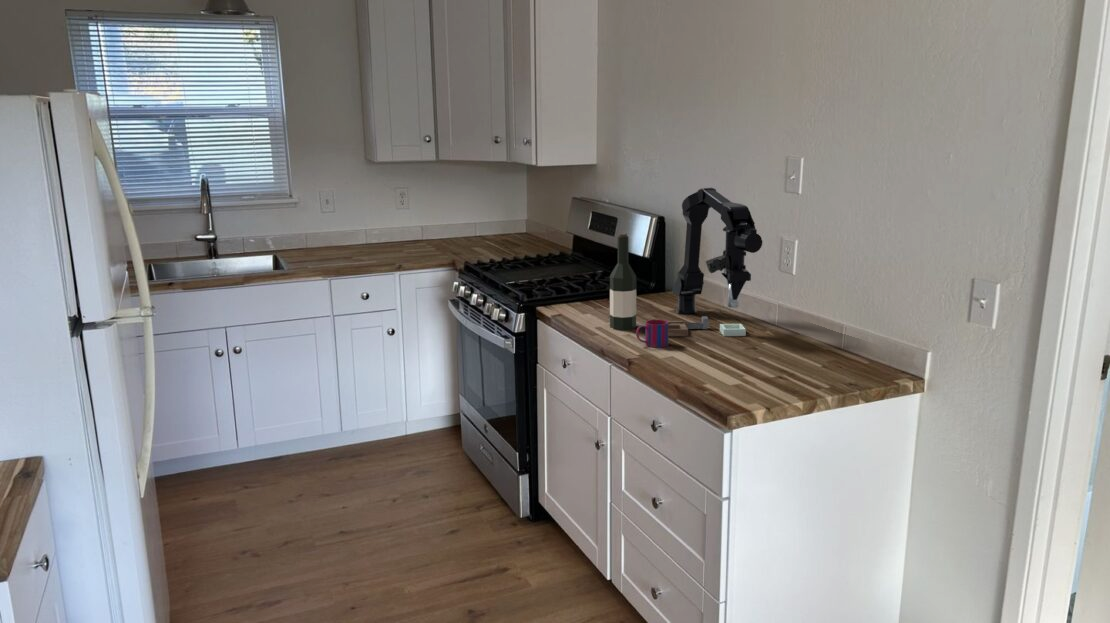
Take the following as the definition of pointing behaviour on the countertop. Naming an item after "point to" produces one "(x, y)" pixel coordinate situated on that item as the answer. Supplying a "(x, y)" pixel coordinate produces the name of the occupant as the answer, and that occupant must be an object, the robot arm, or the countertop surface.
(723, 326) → the tray
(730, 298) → the polished steel rod
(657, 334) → the mug
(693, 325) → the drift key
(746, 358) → the countertop surface
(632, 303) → the wine bottle
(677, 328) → the socket block
